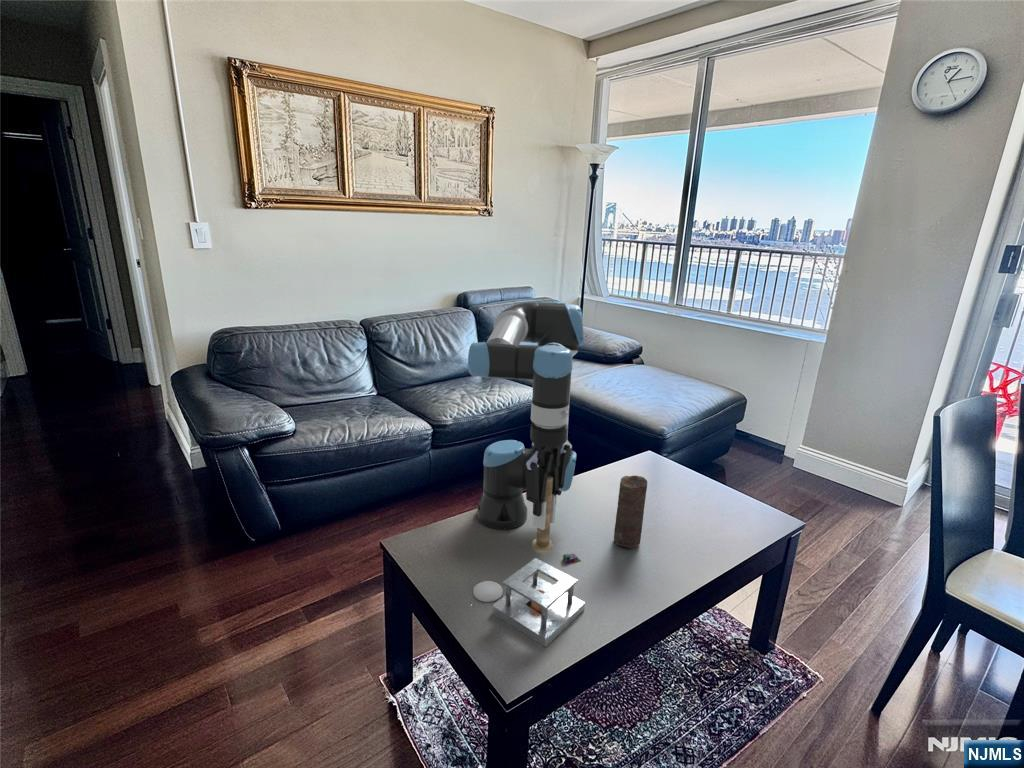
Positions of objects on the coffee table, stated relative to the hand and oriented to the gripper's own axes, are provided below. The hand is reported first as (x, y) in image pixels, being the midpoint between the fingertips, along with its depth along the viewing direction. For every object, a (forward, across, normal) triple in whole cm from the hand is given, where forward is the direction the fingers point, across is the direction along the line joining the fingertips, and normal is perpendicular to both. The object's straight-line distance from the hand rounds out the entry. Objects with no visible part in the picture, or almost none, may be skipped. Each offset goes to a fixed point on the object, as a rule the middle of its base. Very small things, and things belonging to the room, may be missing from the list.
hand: (543, 523), depth 112 cm
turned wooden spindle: (+6, 0, 0) cm, 6 cm away
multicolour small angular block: (+24, +21, +5) cm, 32 cm away
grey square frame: (+23, 0, 0) cm, 23 cm away
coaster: (+23, -3, +13) cm, 26 cm away
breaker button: (+22, 0, 0) cm, 22 cm away
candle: (+23, +38, -2) cm, 44 cm away
